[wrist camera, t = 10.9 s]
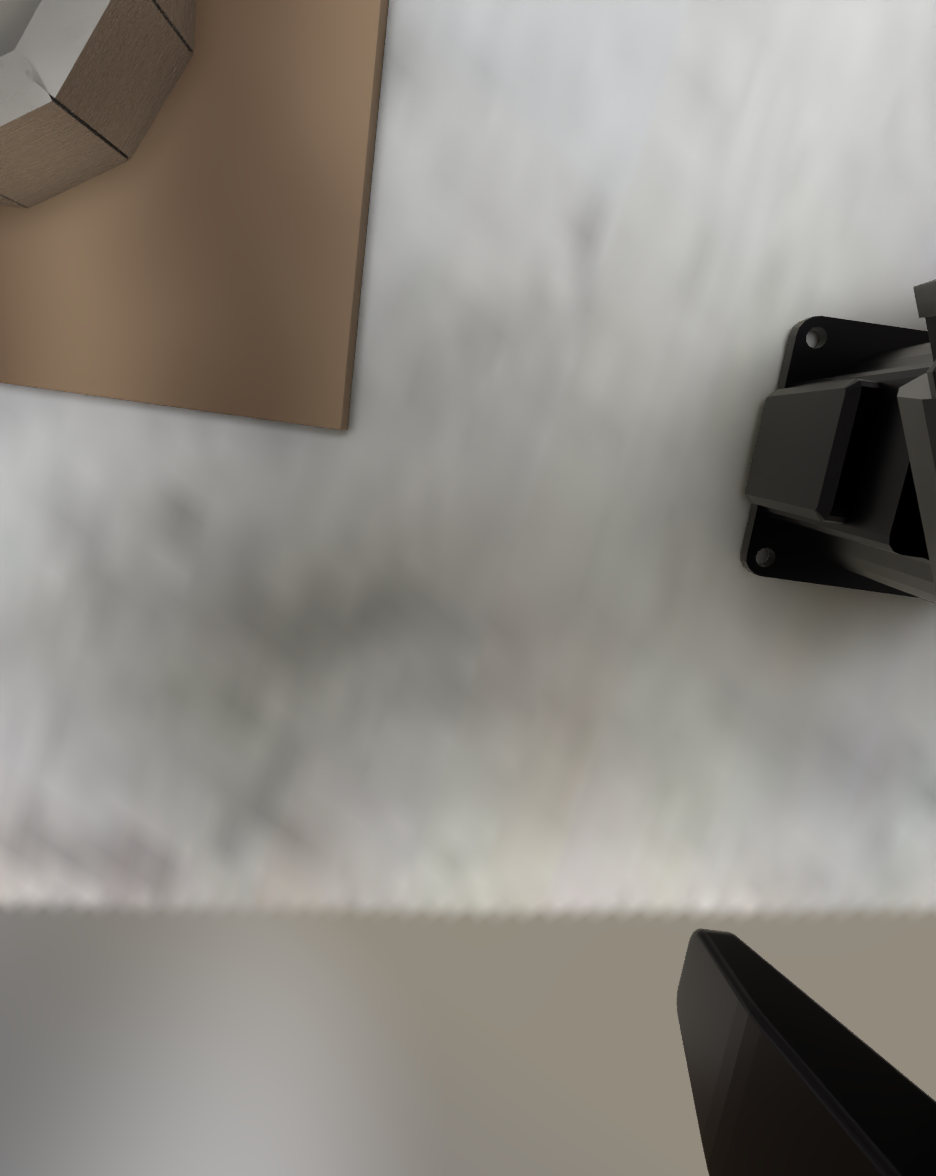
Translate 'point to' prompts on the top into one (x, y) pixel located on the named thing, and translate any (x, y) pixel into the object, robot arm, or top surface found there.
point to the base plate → (215, 229)
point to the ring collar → (86, 90)
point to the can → (14, 21)
